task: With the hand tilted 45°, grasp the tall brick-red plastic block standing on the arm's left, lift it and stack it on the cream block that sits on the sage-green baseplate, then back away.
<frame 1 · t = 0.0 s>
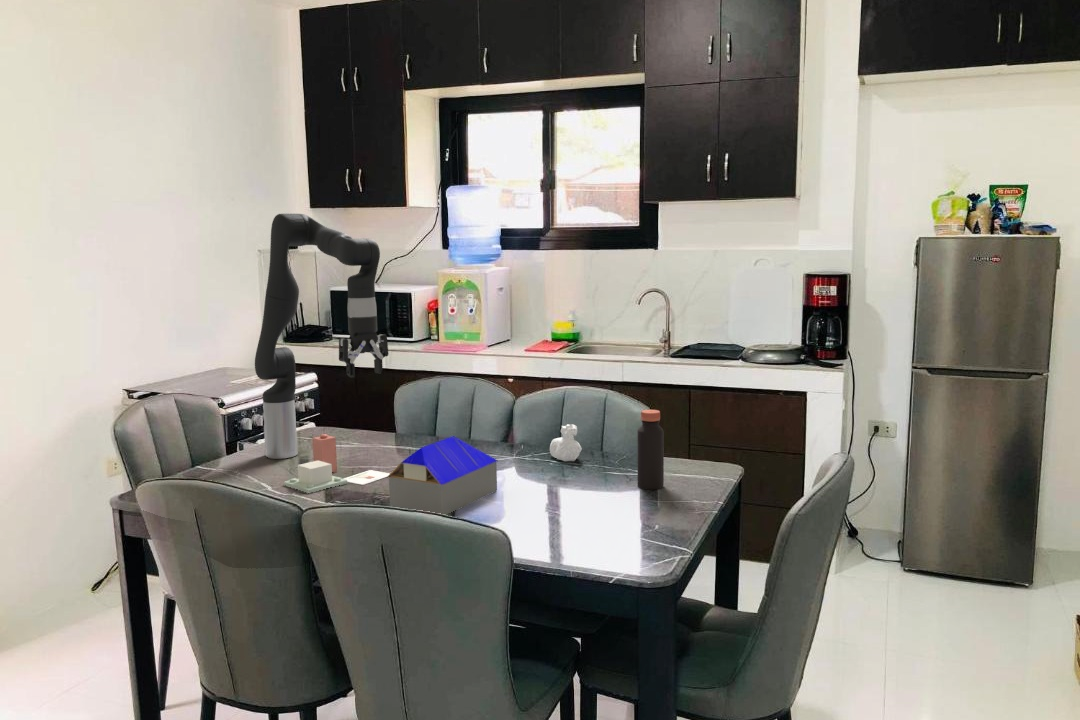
hand: (364, 375, 230), 29 cm above the table, tool pointing down, fingers open, 8 cm apart
tower base: (315, 484, 232), on the table
bottle: (650, 487, 225), on the table
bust: (567, 459, 255), on the table
house: (445, 500, 217), on the table
tall brick: (325, 472, 244), on the table
instruction page: (366, 477, 238), on the table
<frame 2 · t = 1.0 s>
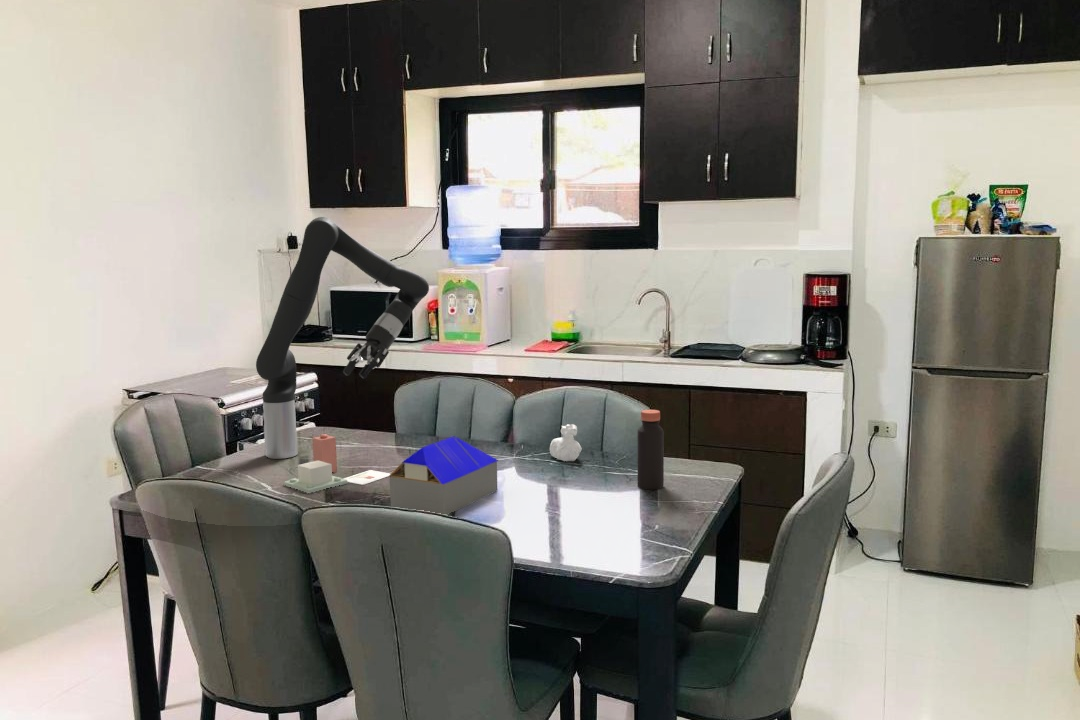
hand: (353, 375, 247), 27 cm above the table, tool tilted 45°, fingers open, 8 cm apart
nothing on the table moved.
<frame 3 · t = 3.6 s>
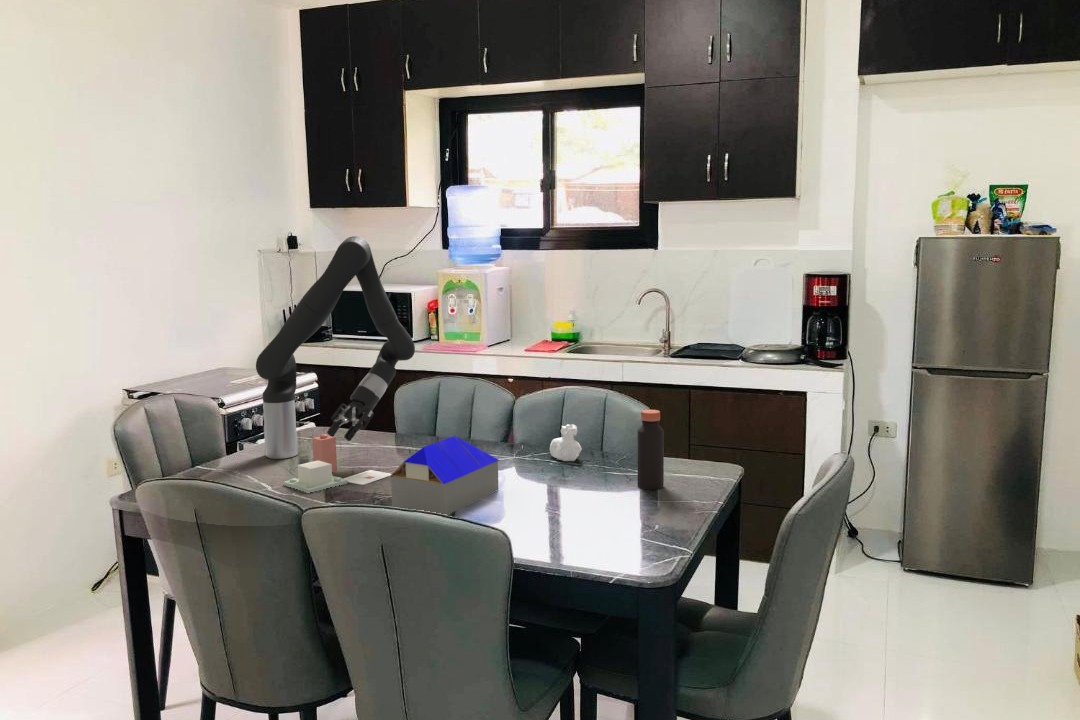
hand: (338, 437, 246), 9 cm above the table, tool tilted 45°, fingers open, 8 cm apart
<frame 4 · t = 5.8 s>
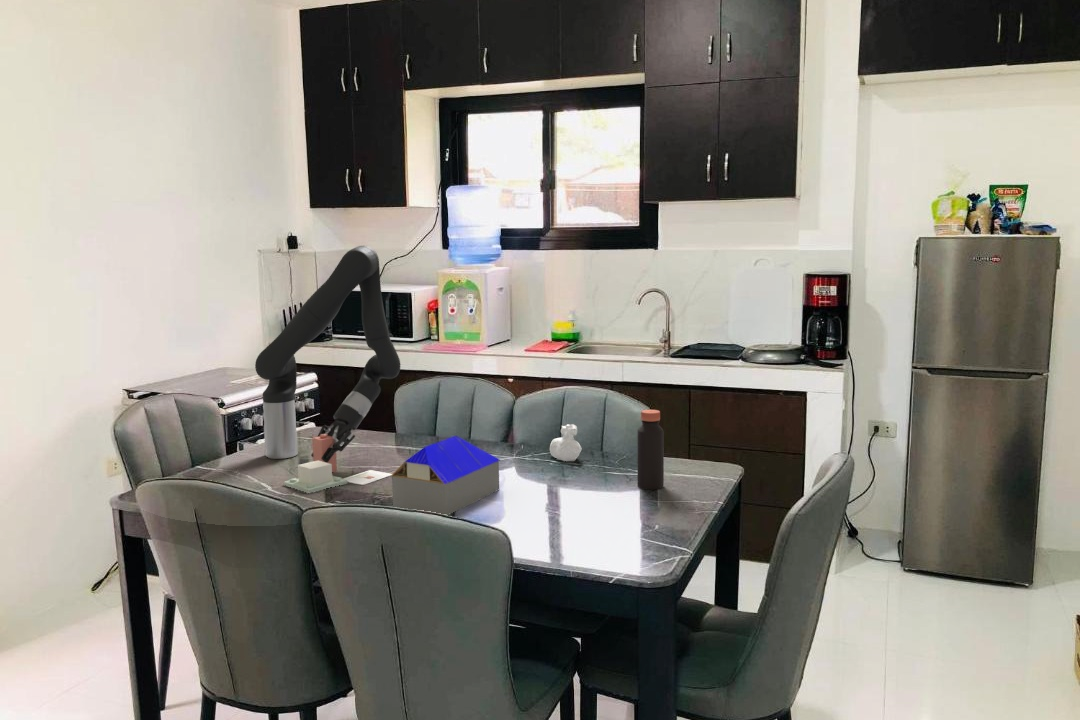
hand: (319, 459, 242), 4 cm above the table, tool tilted 45°, fingers closed on tall brick, 4 cm apart
tall brick: (325, 472, 244), on the table, touching gripper
everything else where it was.
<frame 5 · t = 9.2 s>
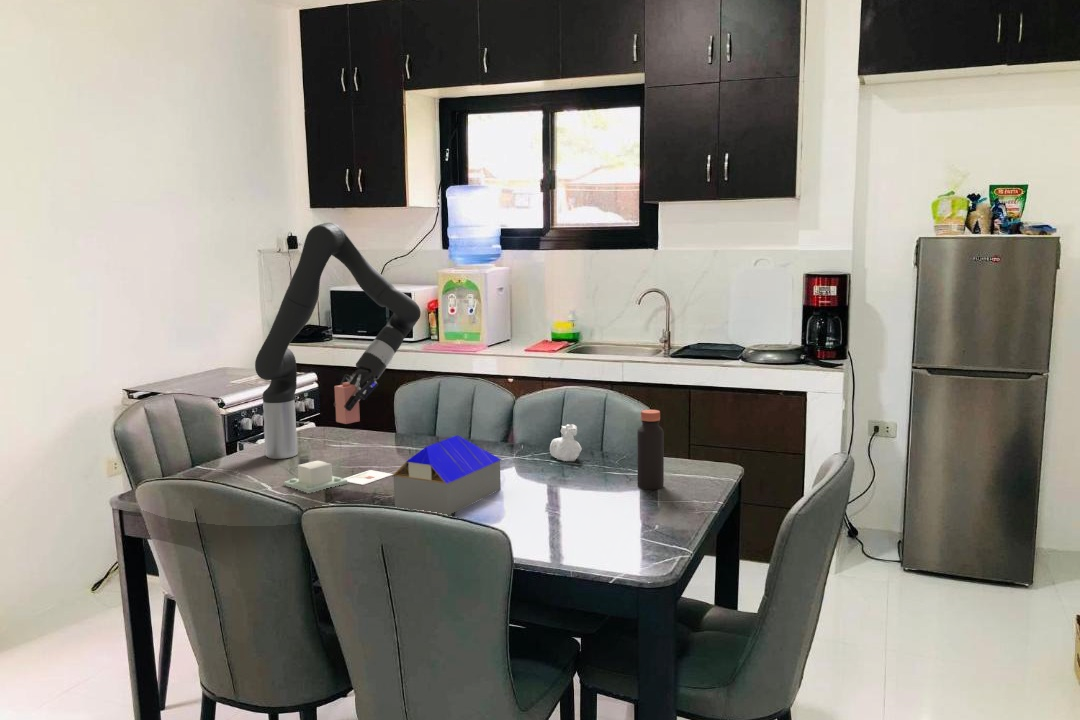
hand: (341, 407, 236), 20 cm above the table, tool tilted 45°, fingers closed on tall brick, 4 cm apart
tall brick: (348, 421, 238), point 15 cm above the table, touching gripper
when the fingers open (11 cm above the table, at t = 12.6 s): tall brick drops 1 cm, resting on tower base.
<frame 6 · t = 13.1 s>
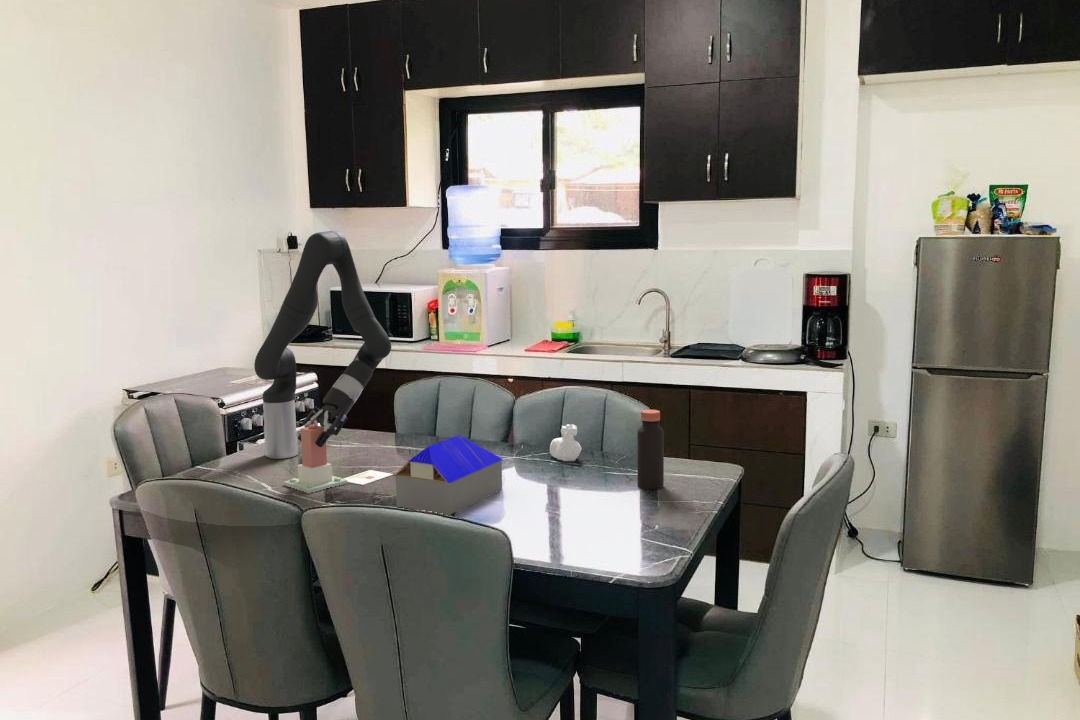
hand: (309, 443, 229), 12 cm above the table, tool tilted 45°, fingers open, 8 cm apart
tall brick: (314, 464, 231), point 5 cm above the table, touching tower base
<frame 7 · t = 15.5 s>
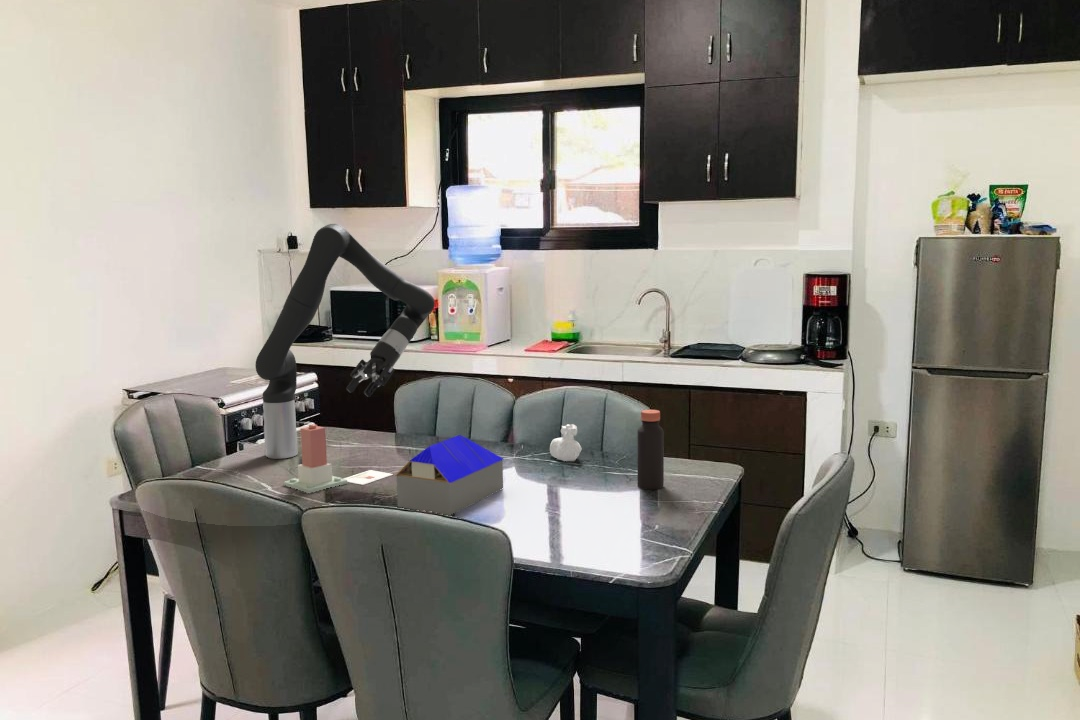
hand: (357, 393, 241), 23 cm above the table, tool tilted 45°, fingers open, 8 cm apart
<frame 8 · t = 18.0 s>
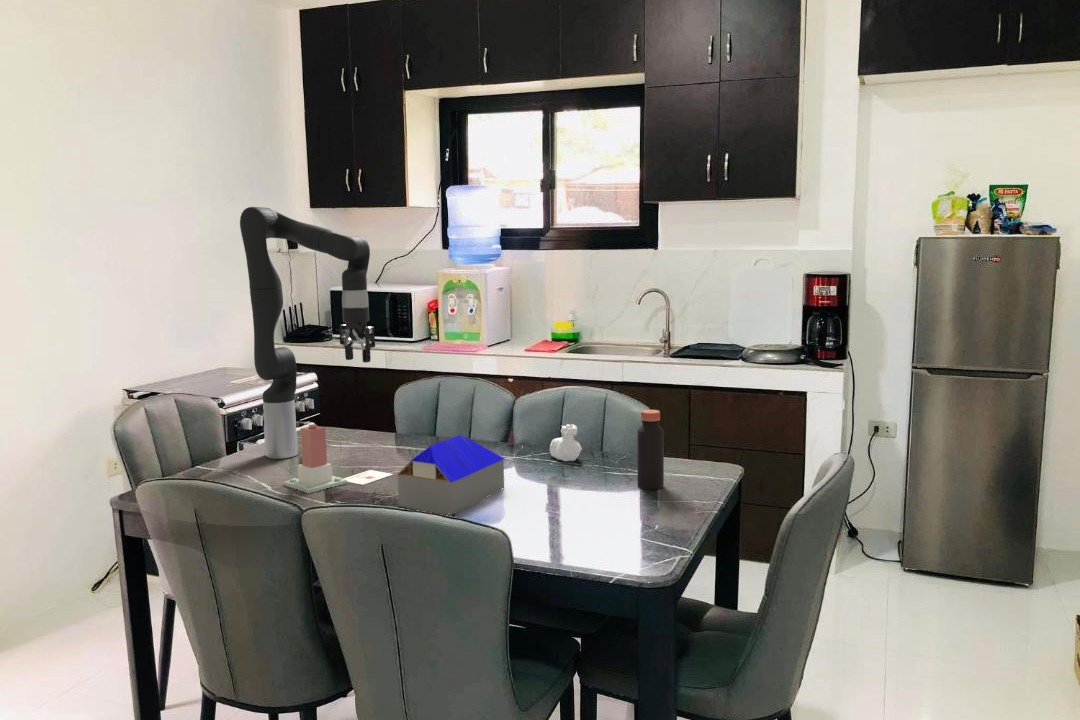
hand: (358, 360, 252), 30 cm above the table, tool pointing down, fingers open, 8 cm apart
at the end: tall brick 0.0 cm off-centre on the tower base, point 5.5 cm above the tower base's base; tall brick tilted 0°; the gripper is holding nothing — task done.
